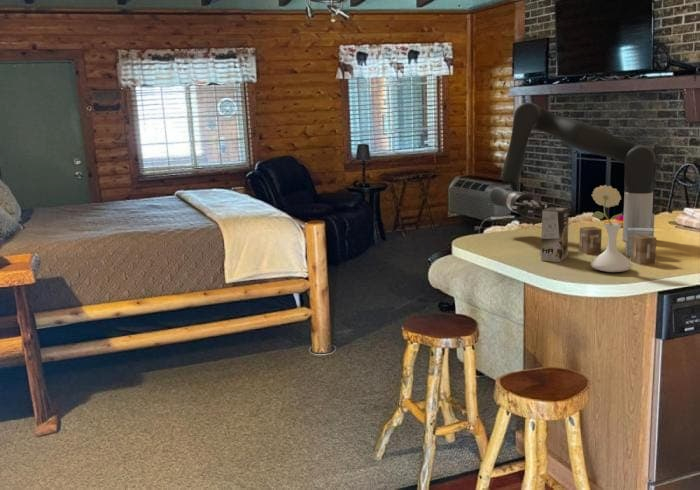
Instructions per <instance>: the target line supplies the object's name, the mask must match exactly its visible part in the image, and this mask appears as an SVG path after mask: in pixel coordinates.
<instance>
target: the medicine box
mask: <svg viewBox="0 0 700 490" xmlns="http://www.w3.org/2000/svg"><path fill="white" fill-rule="evenodd" d="M637 235H649V236H652V237H655V229H654V230H653V229H652V228H627V230H626V241H625V257H631V244H632V236H637Z"/></svg>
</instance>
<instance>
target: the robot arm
mask: <svg viewBox="0 0 700 490" xmlns="http://www.w3.org/2000/svg"><path fill="white" fill-rule="evenodd" d="M512 122H513V123H512V130H511V135H510V136H511V137H510V142H509V145H508V149H507V152H506V154H505V155H506V156H505V158H504V161H503V166H502V169H501V172H500V180H502V181H503V182H506V183H507V184H509V188H507V187H503V186H496V187H495V186H494V187H493V188H492V189H491V191H490V192H489V199H490V200H489V201H490V202H491V203H492V204H493V205H495V206H499V207H504V208H507V209H509V210H510V211H511V212H513V213H516V214H519V215H521V216H527V215H529V214H531V213H535V214H542V211H543V210H545V209H548V208H547V204H548V203H547V202H546V201H543V202H541V203H540V202H539V201H536V200H535V198H534V197H533V196H532V195H530V194H529V193H525V192H522V191H519V187H520V186H519V184H520V178H521V176H522V175H521V174H522V171H523V167H524V164H525V158H526V150H527V144H528V141H529V138H530V135H531V133H532V130H535V131H540V132H543V133H546V134H549V135H551V136H553V137H554V138H556V139H557V140H559V141H561V142H563V143H564V144H566V145H568V146H571V147H572V148H575V149H577V150H580V151H582V152H586V153H589V154H592V155H593V154H594V155H598V156H602V157H607V158H611V159H613V160H614V161H618V162H619V163H622V164H624V184H623V185H624V196H623V198H624V199H623V215H624V218H623V227H622V241H624V242H626V230H627V228H652V229H653V230H654V231H655V216H656V215H655V213H653V204H654V201H653V200H654V176H655V175H654V171H655V163H656V159H657V158H656V157H657V156H656V153H655V151H654V150H653V149H652V148H651V147H649V146H648V145H644V144H639V143H635V142H632V141H628V140H624V139H622V138H619V137H617V136H616V135H613V134H611V133H609V132H607V131H605V130H603V129H600V128H598V127H597V126H593V125H592V124H588V123H586V122H583V121H580V120H576V119H574V118H570V117H566V116H562V115H558V114H556V113H554V112H551V111H549V110H547V109H545V108H544V107H542V106H540V105H538V104H536V103H533V102H524V103H521V104H519V105H518V106H516V108H515V111H514V115H513V121H512Z"/></svg>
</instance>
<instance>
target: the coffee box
mask: <svg viewBox="0 0 700 490" xmlns="http://www.w3.org/2000/svg"><path fill="white" fill-rule="evenodd" d="M569 212H570V208H569V207H558V206H557V207H551V206H550V207H548V208H547V209H545V210H543V211H542V213H541V216H542V217H541V245H540V246H541V247H540V248H541V250H540V251H541V252H540V261H543V262H555V263H561V262H562V261H564V260H565V259H567V258H568V254H569V252H568V251H569V222H570V221H569V218H570V216H569V215H570V213H569Z"/></svg>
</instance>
